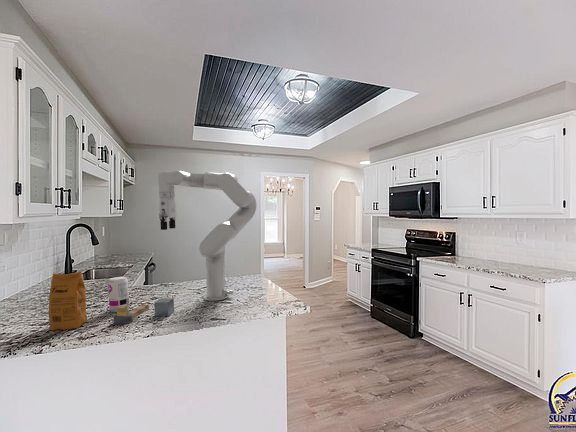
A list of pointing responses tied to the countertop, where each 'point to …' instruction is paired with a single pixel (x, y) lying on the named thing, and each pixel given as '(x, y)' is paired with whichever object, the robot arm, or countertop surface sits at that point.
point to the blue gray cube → (164, 307)
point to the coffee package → (67, 301)
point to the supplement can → (118, 293)
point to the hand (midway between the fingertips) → (168, 229)
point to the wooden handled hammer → (128, 314)
